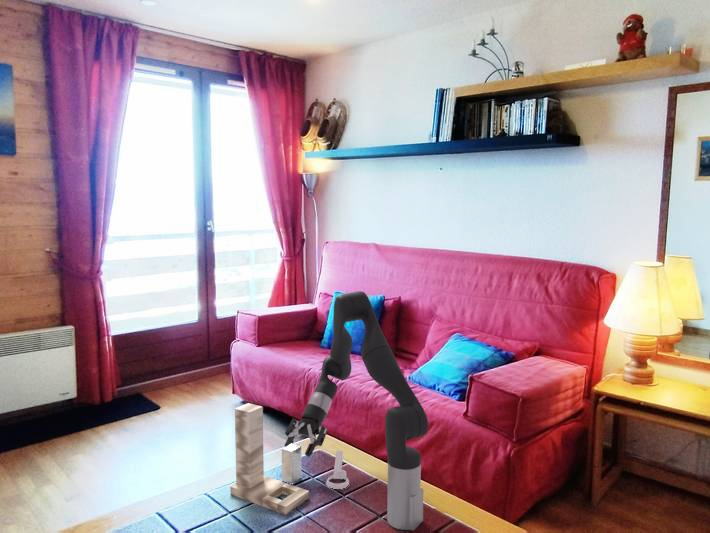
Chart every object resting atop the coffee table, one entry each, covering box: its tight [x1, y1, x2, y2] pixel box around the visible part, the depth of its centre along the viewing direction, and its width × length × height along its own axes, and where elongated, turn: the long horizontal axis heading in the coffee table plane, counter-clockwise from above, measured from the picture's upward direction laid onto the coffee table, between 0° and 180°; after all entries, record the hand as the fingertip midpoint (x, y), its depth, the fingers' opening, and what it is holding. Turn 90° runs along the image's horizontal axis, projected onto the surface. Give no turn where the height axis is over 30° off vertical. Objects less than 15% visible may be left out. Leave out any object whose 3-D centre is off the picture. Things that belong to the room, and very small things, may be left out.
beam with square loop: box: [229, 402, 310, 516], centre depth 168 cm, size 22×11×26 cm, turn 57°
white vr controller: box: [325, 449, 350, 490], centre depth 179 cm, size 8×12×7 cm
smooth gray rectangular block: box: [281, 443, 302, 485], centre depth 180 cm, size 4×5×11 cm
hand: (296, 452), depth 182 cm, fingers open, 8 cm apart
